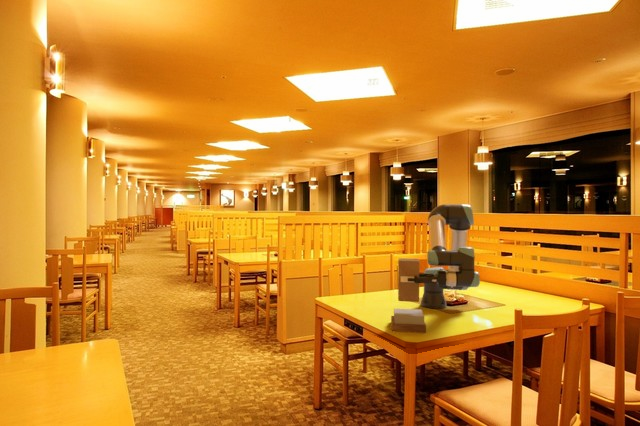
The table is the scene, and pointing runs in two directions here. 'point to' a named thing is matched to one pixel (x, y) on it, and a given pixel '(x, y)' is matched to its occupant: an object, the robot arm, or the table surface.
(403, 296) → the wooden block
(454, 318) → the table surface
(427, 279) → the robot arm
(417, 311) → the grey slab
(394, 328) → the walnut slab
